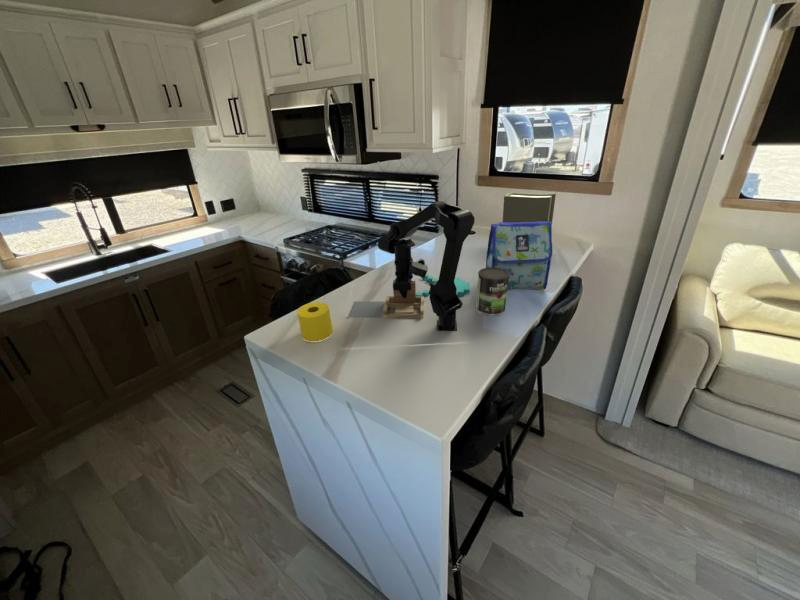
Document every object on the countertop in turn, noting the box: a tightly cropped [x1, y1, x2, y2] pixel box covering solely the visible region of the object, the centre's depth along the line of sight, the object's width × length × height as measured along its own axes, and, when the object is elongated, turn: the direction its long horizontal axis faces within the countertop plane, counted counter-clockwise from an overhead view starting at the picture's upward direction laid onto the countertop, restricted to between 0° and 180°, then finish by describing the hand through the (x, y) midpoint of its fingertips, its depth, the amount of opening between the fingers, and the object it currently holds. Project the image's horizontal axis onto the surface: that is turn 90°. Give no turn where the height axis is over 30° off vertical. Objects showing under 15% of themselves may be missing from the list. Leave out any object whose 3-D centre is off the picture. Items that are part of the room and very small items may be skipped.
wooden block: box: [392, 280, 417, 303], centre depth 129 cm, size 2×8×10 cm, turn 85°
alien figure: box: [416, 273, 471, 297], centre depth 143 cm, size 20×2×20 cm
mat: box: [347, 300, 386, 319], centre depth 130 cm, size 12×12×1 cm
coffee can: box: [475, 267, 509, 317], centre depth 124 cm, size 10×10×14 cm
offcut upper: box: [394, 306, 414, 314], centre depth 127 cm, size 4×6×1 cm, turn 89°
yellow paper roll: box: [296, 301, 334, 341], centre depth 115 cm, size 10×10×9 cm
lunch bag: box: [485, 221, 554, 291], centre depth 136 cm, size 22×17×26 cm
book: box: [502, 192, 557, 226], centre depth 170 cm, size 22×9×28 cm, turn 55°
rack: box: [382, 295, 425, 319], centre depth 128 cm, size 11×14×3 cm
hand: (404, 296), depth 130 cm, fingers closed on wooden block, 2 cm apart
